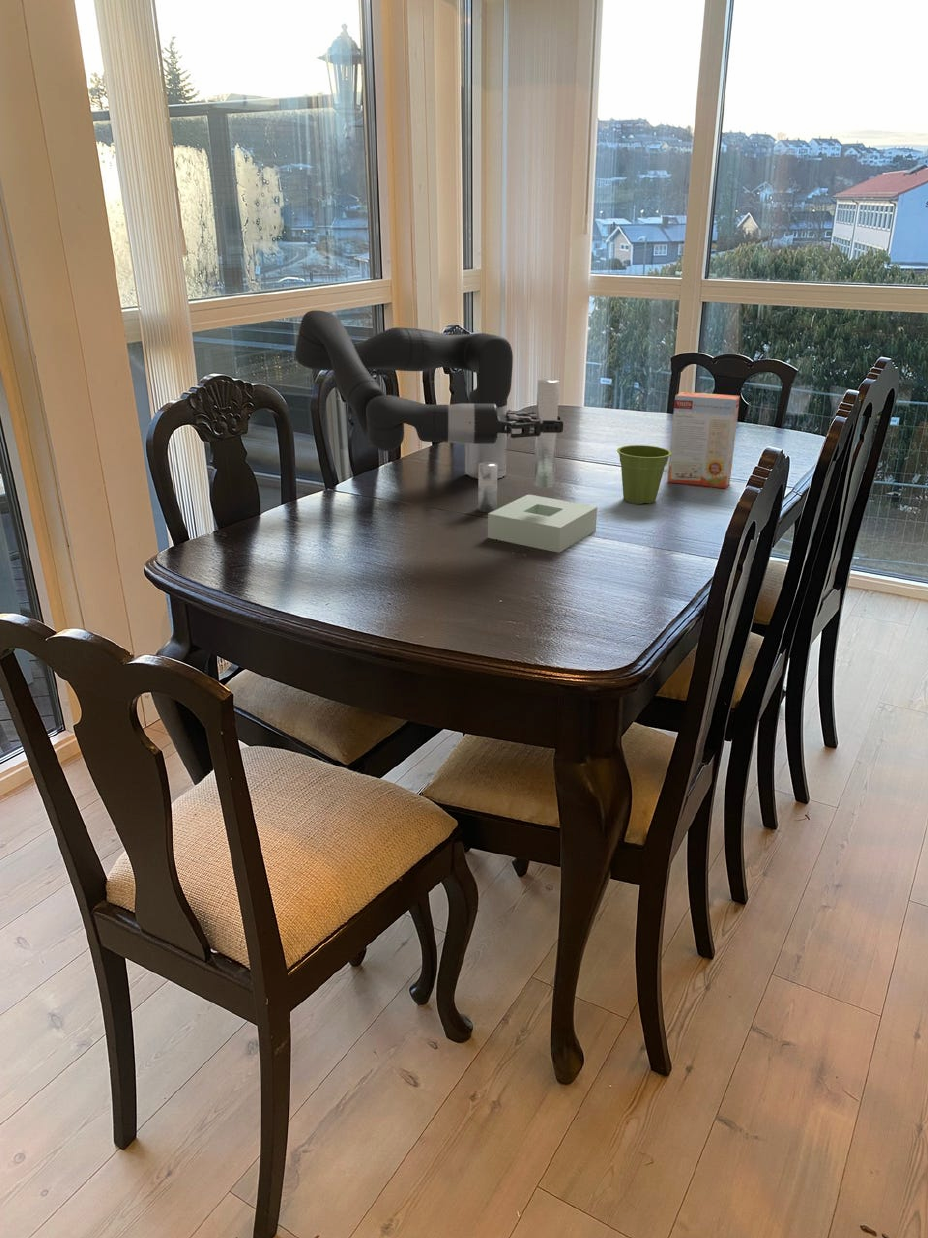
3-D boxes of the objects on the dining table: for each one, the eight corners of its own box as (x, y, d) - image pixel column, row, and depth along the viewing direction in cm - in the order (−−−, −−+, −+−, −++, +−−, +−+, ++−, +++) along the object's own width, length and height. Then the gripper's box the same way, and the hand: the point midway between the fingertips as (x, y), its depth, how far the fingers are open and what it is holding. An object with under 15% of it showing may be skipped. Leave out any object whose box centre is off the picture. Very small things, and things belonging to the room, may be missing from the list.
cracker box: (730, 483, 217) (741, 394, 208) (725, 489, 212) (736, 399, 203) (672, 476, 222) (680, 390, 213) (666, 482, 217) (674, 394, 208)
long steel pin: (529, 485, 177) (534, 381, 169) (539, 481, 180) (544, 378, 172) (547, 488, 175) (552, 383, 167) (557, 484, 178) (563, 380, 170)
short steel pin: (474, 510, 197) (475, 464, 193) (484, 505, 200) (485, 461, 196) (490, 513, 195) (491, 467, 191) (500, 508, 198) (500, 463, 194)
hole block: (487, 537, 180) (488, 513, 178) (527, 517, 192) (528, 494, 190) (559, 552, 172) (560, 527, 170) (595, 530, 184) (597, 506, 182)
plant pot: (666, 509, 197) (671, 458, 193) (612, 506, 200) (615, 455, 195) (666, 494, 208) (671, 445, 203) (614, 491, 210) (618, 443, 206)
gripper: (473, 411, 164) (567, 411, 165) (470, 396, 177) (557, 397, 178) (473, 451, 168) (565, 452, 168) (470, 434, 180) (555, 435, 181)
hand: (560, 423), depth 173 cm, fingers closed on long steel pin, 4 cm apart
